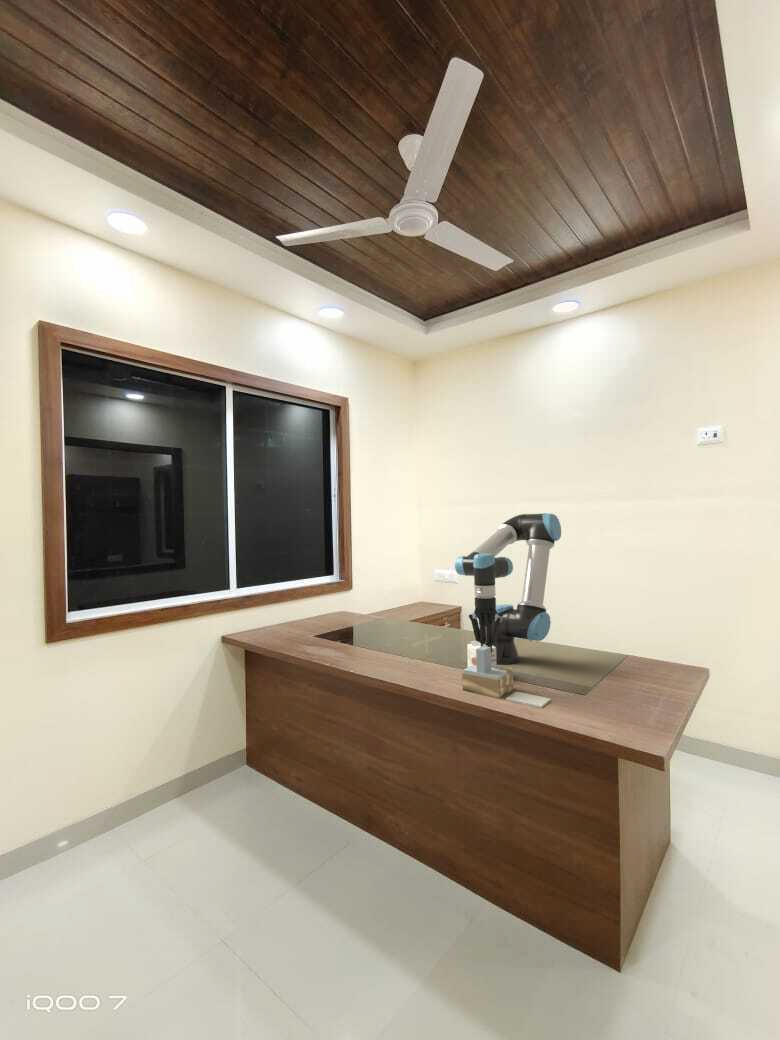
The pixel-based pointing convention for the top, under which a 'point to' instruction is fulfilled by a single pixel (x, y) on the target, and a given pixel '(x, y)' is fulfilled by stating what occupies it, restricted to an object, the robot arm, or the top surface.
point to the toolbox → (489, 684)
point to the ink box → (472, 653)
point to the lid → (485, 665)
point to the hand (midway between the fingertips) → (486, 661)
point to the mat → (528, 699)
